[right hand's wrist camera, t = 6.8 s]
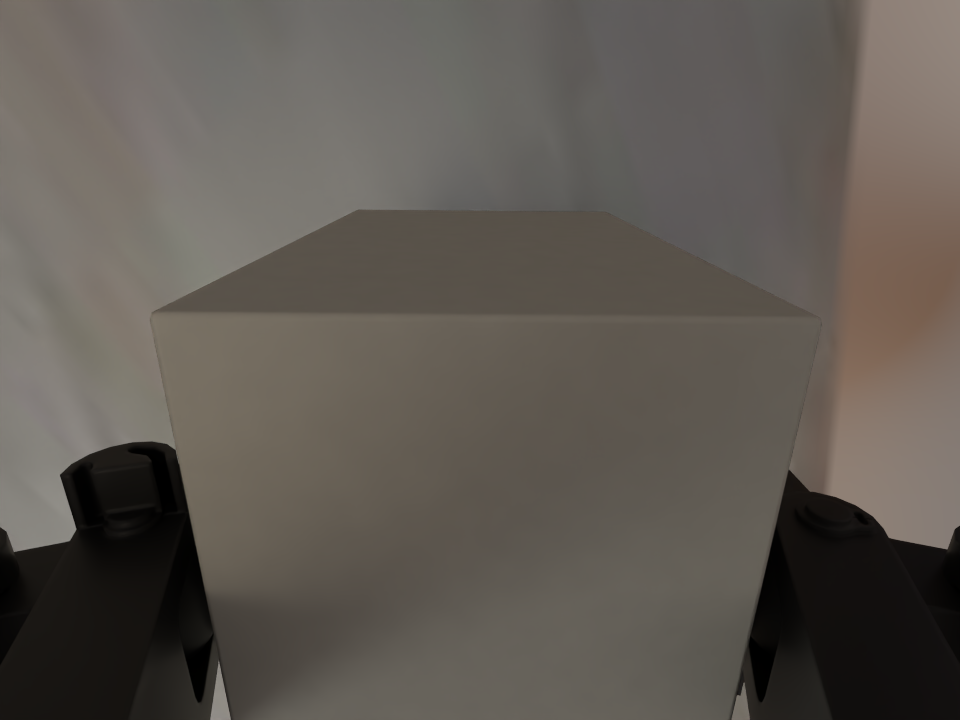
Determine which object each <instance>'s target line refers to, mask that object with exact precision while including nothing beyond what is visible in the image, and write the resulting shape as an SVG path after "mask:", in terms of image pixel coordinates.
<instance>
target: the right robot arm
mask: <svg viewBox="0 0 960 720" xmlns="http://www.w3.org/2000/svg"><path fill="white" fill-rule="evenodd" d="M60 477H61V480H62V483H63V486H64V490H65V493H66V496H67V499H68V503H69V506H70V509H71V512H72V516H73V519H74V522H75V525H76V529H77V530H76V532H75V533H74V535H73V537H72V539H71V540H70V541H68V542H64V543H59V544H54V545H49V546H43V547H38V548H33V549H28V550H23V551H17V552H14V551H13V548H12V546H11V543H10V540H9V537H8V535H7V532H6V531H5V530H3V529H2V528H0V720H210V717H211V710H212V703H213V696H214V689H215V682H216V675H217V668H218V661H219V657H218V652H217V648H216V643H215V638H214V633H213V628H212V623H211V618H210V613H209V608H208V603H207V598H206V593H205V588H204V583H203V578H202V574H201V569H200V564H199V559H198V554H197V549H196V544H195V539H194V534H193V529H192V524H191V519H190V514H189V509H188V505H187V500H186V495H185V490H184V485H183V480H182V475H181V470H180V465H179V464H178V459H177V455H176V450H175V449H173V448H172V447H170V446H169V445H167V444H163V443H157V442H132V443H128V444H123V445H118V446H113V447H109V448H106V449H103V450H101V451H98V452H95V453H92V454H89V455H88V456H86V457H84V458H82V459H80V460H78V461H76V462H75V463H73V464H71V465H70V466H69V467H68V468H67V469H66V470H65V471H64V472H63V473H62V474H60ZM744 682H745V688H746V694H747V701H748V708H749V715H750V720H960V526H959V527H957V528H956V529H955V531H954V533H953V536H952V539H951V542H950V544H949V547H948V550H946V549H942V548H936V547H931V546H926V545H921V544H915V543H910V542H905V541H900V540H895V539H891V538H888V536H887V534H886V532H885V530H884V529H883V528H882V526H881V525H880V524H879V523H878V522H877V521H876V520H875V519H874V517H873V516H871V515H870V514H868V513H867V512H865V511H863V510H862V509H860V508H859V507H857V506H856V505H853V504H851V503H848V502H846V501H844V500H841V499H839V498H836V497H833V496H829V495H824V494H820V493H816V492H810V491H809V490H808V489H807V488H806V487H805V486H804V485H803V484H802V483H801V482H800V481H799V480H798V479H797V478H796V477H795V476H794V475H793V474H792V472H791V471H790V470H788V474H787V478H786V483H785V487H784V491H783V496H782V500H781V505H780V509H779V513H778V518H777V522H776V526H775V531H774V535H773V539H772V544H771V548H770V552H769V557H768V561H767V566H766V570H765V574H764V579H763V583H762V587H761V592H760V596H759V600H758V605H757V609H756V614H755V618H754V622H753V627H752V631H751V635H750V640H749V644H748V648H747V653H746V657H745V661H744V666H743V670H742V675H741V679H740V683H739V688H738V692H737V695H741V691H742V686H743V683H744Z"/></svg>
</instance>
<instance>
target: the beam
mask: <svg viewBox="0 0 960 720" xmlns="http://www.w3.org/2000/svg"><path fill="white" fill-rule="evenodd" d="M150 322H151V327H152V332H153V337H154V342H155V347H156V352H157V357H158V362H159V366H160V371H161V376H162V381H163V386H164V391H165V396H166V401H167V406H168V411H169V416H170V421H171V426H172V431H173V435H174V440H175V445H176V450H177V455H178V460H179V465H180V470H181V475H182V480H183V485H184V490H185V495H186V500H187V505H188V509H189V514H190V519H191V524H192V529H193V534H194V539H195V544H196V549H197V554H198V559H199V564H200V569H201V574H202V578H203V583H204V588H205V593H206V598H207V603H208V608H209V613H210V618H211V623H212V628H213V633H214V638H215V643H216V648H217V652H218V657H219V662H220V667H221V672H222V677H223V682H224V687H225V692H226V697H227V702H228V707H229V712H230V717H231V720H731V718H732V714H733V709H734V705H735V701H736V696H737V692H738V688H739V683H740V679H741V675H742V670H743V666H744V661H745V657H746V653H747V648H748V644H749V640H750V635H751V631H752V627H753V622H754V618H755V614H756V609H757V605H758V600H759V596H760V592H761V587H762V583H763V579H764V574H765V570H766V566H767V561H768V557H769V552H770V548H771V544H772V539H773V535H774V531H775V526H776V522H777V518H778V513H779V509H780V505H781V500H782V496H783V491H784V487H785V483H786V478H787V474H788V470H789V465H790V461H791V457H792V452H793V448H794V443H795V439H796V435H797V430H798V426H799V422H800V417H801V413H802V409H803V404H804V400H805V395H806V391H807V387H808V382H809V378H810V374H811V369H812V365H813V361H814V356H815V352H816V348H817V343H818V339H819V334H820V330H821V326H822V324H821V319H820V318H819V317H817V316H815V315H813V314H811V313H809V312H807V311H805V310H803V309H801V308H799V307H797V306H795V305H793V304H791V303H789V302H787V301H785V300H783V299H781V298H779V297H777V296H775V295H773V294H771V293H769V292H767V291H765V290H762V289H760V288H758V287H756V286H754V285H752V284H750V283H748V282H746V281H744V280H742V279H740V278H738V277H736V276H734V275H732V274H730V273H728V272H726V271H724V270H722V269H720V268H718V267H716V266H714V265H712V264H710V263H708V262H706V261H704V260H702V259H700V258H698V257H696V256H694V255H692V254H690V253H688V252H686V251H684V250H682V249H680V248H678V247H675V246H673V245H671V244H669V243H667V242H665V241H663V240H661V239H659V238H657V237H655V236H653V235H651V234H649V233H647V232H645V231H643V230H641V229H639V228H637V227H635V226H633V225H631V224H629V223H627V222H625V221H623V220H621V219H619V218H617V217H615V216H613V215H611V214H609V213H607V212H555V211H442V210H356V211H354V212H352V213H350V214H348V215H346V216H344V217H342V218H340V219H338V220H336V221H334V222H332V223H330V224H328V225H326V226H324V227H322V228H320V229H318V230H316V231H314V232H312V233H310V234H308V235H306V236H304V237H302V238H300V239H298V240H296V241H294V242H292V243H290V244H288V245H286V246H284V247H282V248H280V249H278V250H276V251H274V252H272V253H270V254H268V255H266V256H264V257H262V258H260V259H258V260H256V261H254V262H252V263H250V264H248V265H246V266H244V267H242V268H240V269H238V270H236V271H234V272H232V273H230V274H228V275H226V276H224V277H222V278H220V279H218V280H216V281H214V282H212V283H210V284H208V285H206V286H204V287H202V288H200V289H198V290H196V291H194V292H192V293H190V294H188V295H186V296H184V297H182V298H180V299H178V300H176V301H174V302H172V303H170V304H168V305H166V306H164V307H162V308H160V309H158V310H156V311H154V312H152V313H151V317H150Z"/></svg>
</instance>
